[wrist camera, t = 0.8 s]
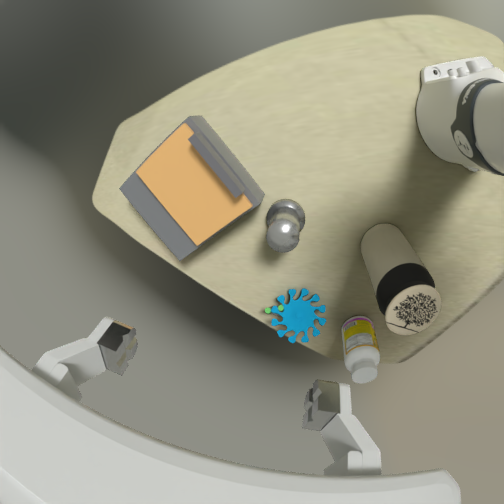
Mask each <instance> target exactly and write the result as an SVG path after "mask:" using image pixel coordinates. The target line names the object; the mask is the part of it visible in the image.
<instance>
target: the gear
mask: <svg viewBox="0 0 504 504" xmlns="http://www.w3.org/2000/svg"><path fill="white" fill-rule="evenodd" d="M308 293H309V291H308V290H307V289H304V288H303V289H302V292H301V296H300V297H299V299H298V300H293V296H294V295H295V294H296V290H295V289H290V290H289V295H290V302H289V304H287V305H286V304H284V300H285V297H284V295H281V296H279V297H278V298H277V299H278V301H279V302H280V303H281V304H282V305H283V306H282V305H279V306H272V307H271V309H270V308H266V309H265V312H266V313H267V314H270V313H272V314H273V315H277V316H281V317H283V321H282V322H279V321H278V320H277V319H272V326H276V325H279V324H282V325H286V326H287V330H285V331H283V330H278V331H277V333H278V335H279V336H280V337H283V336H284V334H285V333H287V332H288V331H292V330H293V331H294V332H295V335H294V336H291V337H289V338H288V341H290V342H291V343H294V342H295V340H296V336H297V334H298V333H299V332H300V331H303V332H304V333H305V335H304V336H303V337H302V339H301V341H302V342H308V341H309V339H308V336H307V331H308V328H309V327H312V328H313V336H317V335H319V334H320V331H319V330H318V329H316V327H315V326H314V323H313V321H314V320H315V319H317V320H318V321H319V324H320V325H322V326H323V325H324V324H325V322H326V319H325V318H320V317H318V316H316V315H315V313H314V311H315V310H319V311H320V312H321V313H324V312H325V305H321V306H319V307H313V306H311V305H310V302H312V301H314V302H318V301H319V300H320V299H319V296H318V295H317V294H315V295H314V296H313V297H312V298H311V299H310V300H307V301H303V300H302V297H303V296H306V295H308Z"/></svg>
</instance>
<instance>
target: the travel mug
mask: <svg viewBox="0 0 504 504" xmlns="http://www.w3.org/2000/svg"><path fill="white" fill-rule="evenodd" d="M361 254H362V256H363V259H364V262H365V265H366V268H367V271H368V274H369V277H370V280H371V283H372V286H373V289H374V292H375V295H376V298H377V302H378V305H379V308H380V311H381V312H382V313H383V315H384V316H385V322H386V325H387V327H388V328H389V329H390V330H391V331H392V332H393V333H396V334H399V335H412V334H416V333H418V332H421V331H423V330H424V329H426V328H427V327H429V326H430V325H431V324H432V323H433V322H434V321H435V319H436V318H437V316H438V315H439V312H440V310H441V304H442V301H441V296H440V294H439V292H438V291H437V290H436V289H435V284H434V281H433V279H432V277H431V275H430V274H429V272H428V271H427V269H426V267H425V266H424V264H423V263H422V261H421V260H420V258H419V257H418V255H417V254H416V252H415V251H414V249H413V248H412V246H411V245H410V244H409V242H408V241H407V239H406V238H405V237H404V235H403V234H402V232H401V231H400V230H399V229H398V228H397V227H396V226H394V225H391V224H379V225H376V226H374V227H372V228H371V229H369V230H368V231H367V232H366V233H365V235H364V236H363V238H362V241H361Z"/></svg>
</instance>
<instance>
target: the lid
mask: <svg viewBox="0 0 504 504" xmlns="http://www.w3.org/2000/svg"><path fill="white" fill-rule="evenodd" d="M136 173H137V174H138V175H139V177H140V178H141V179H142V180H143V182H144V183H145V184H146V185H147V187H148V188H149V189H150V190H151V192H152V193H153V194H154V195H155V196H156V198H157V199H158V200H159V201H160V203H161V204H162V205H163V206H164V207H165V209H166V210H167V211H168V212H169V213H170V215H171V216H172V217H173V218H174V219H175V221H176V222H177V223H178V224H179V225H180V226H181V228H182V229H183V230H184V231H185V232H186V234H187V235H188V236H189V237H190V238H191V239H192V241H193V242H194V243H195V244H196V245H197V246H198V245H199V244H201V243H202V242H203V241H205V240H206V239H207V238H209V237H210V236H212V235H213V234H214V233H216V232H217V231H219V230H220V229H221V228H223V227H224V226H226V225H227V224H228V223H230V222H231V221H233V220H234V219H235V218H237V217H238V216H240V215H241V214H242V213H244V212H245V211H247V210H248V209H250V208H251V207H252V206H253V205H252V203H251V202H250V201H249V200H248V198H247V197H246V196H245V195H244V193H243V192H244V191H245V188H244V186H243V185H242V184H241V182H240V181H239V180H238V179H237V177H236V176H235V175H234V174H233V172H232V171H231V170H230V169H229V168H228V166H227V165H226V164H225V163H224V161H223V160H222V159H221V158H220V156H219V155H218V154H217V153H216V152H215V150H214V149H213V148H212V147H211V145H210V144H209V143H208V142H207V141H206V139H205V138H204V137H203V136H202V135H201V133H200V132H199V133H194V132H193V131H192V129H191V128H190V127H189V126H188V125H187V124H186V123H184V124H182V125H181V126H180V127H179V128H178V129H177V130H176V131H175V132H174V133H173V134H172V135H171V136H170V137H169V138H168V139H167V140H166V141H165V142H164V143H163V144H162V145H161V146H160V147H159V148H158V149H157V150H156V151H155V152H154V153H153V154H152V155H151V156H150V157H149V158H148V159H147V160H146V161H145V162H144V163H143V164H142V165H141V167H140V168H139V169H138V170H137V171H136Z"/></svg>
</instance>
